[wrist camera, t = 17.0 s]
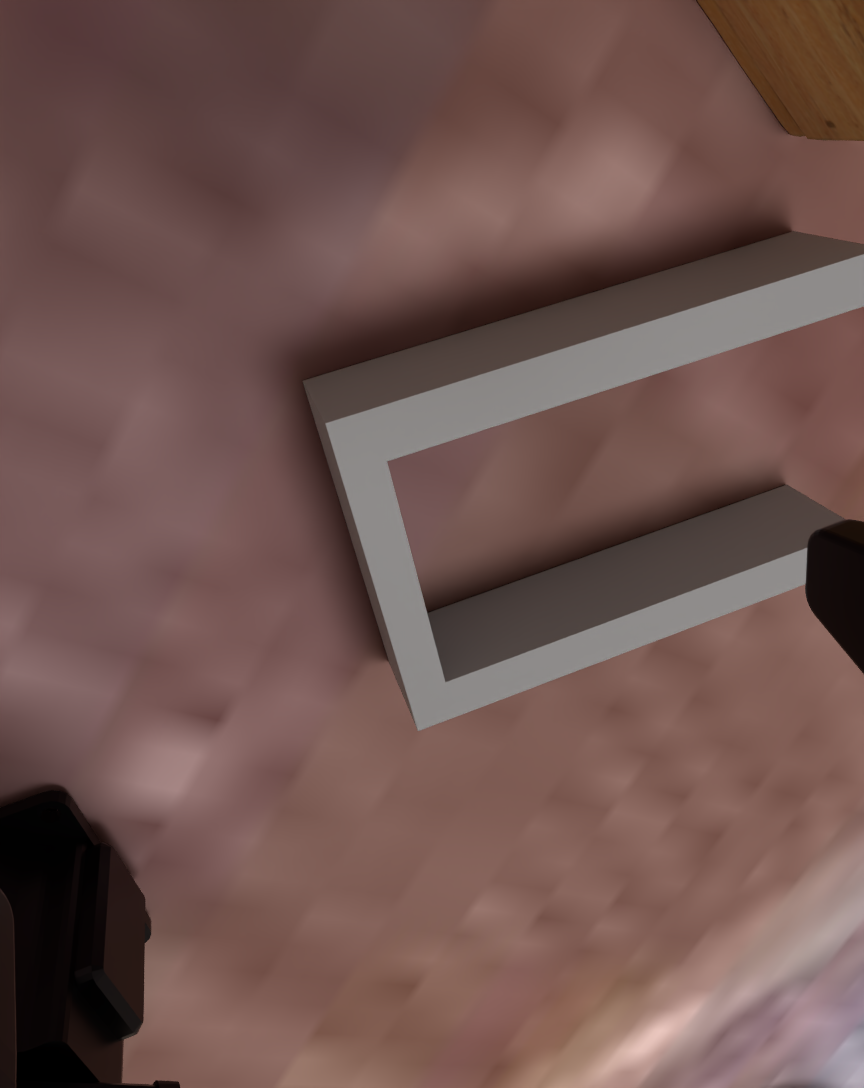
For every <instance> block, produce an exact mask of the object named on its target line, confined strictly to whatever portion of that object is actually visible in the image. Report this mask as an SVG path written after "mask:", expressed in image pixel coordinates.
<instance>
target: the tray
mask: <svg viewBox="0 0 864 1088" xmlns="http://www.w3.org/2000/svg"><path fill="white" fill-rule="evenodd" d="M697 1H698V3H699V4H700V6H701V7H702V9H703V10H704V11H705V13H706V14H707V16H708V17H709V18H710V20H711V21H712V23H713V24H714V26H715V27H716V29H717V30H718V32H719V33H720V35H721V36H722V38H723V39H724V41H725V42H726V44H727V45H728V47H729V49H730V50H731V52H732V53H733V55H734V56H735V58H736V59H737V61H738V62H739V64H740V65H741V67H742V68H743V70H744V71H745V72H746V74H747V75H748V77H749V78H750V80H751V81H752V83H753V84H754V85H755V87H756V88H757V90H758V91H759V93H760V94H761V95H762V97H763V98H764V100H765V101H766V103H767V104H768V106H769V107H770V108H771V110H772V111H773V113H774V114H775V116H776V117H777V118H778V120H779V121H780V123H781V124H782V126H783V127H784V128H785V129H786V130H787V131H788V132H789V134H790V135H793V136H799V137H801V136H806V137H807V139H816V140H854V141H864V0H697Z"/></svg>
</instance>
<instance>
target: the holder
mask: <svg viewBox="0 0 864 1088" xmlns="http://www.w3.org/2000/svg"><path fill="white" fill-rule="evenodd" d="M863 306H864V244H859V243H854V242H849V241H843V240H838V239H833V238H827V237H822V236H817V235H811V234H806V233H801V232H795V231H792V232H789V233H786V234H783V235H779V236H776V237H773V238H769V239H766V240H763V241H760V242H756V243H753V244H750V245H746V246H743V247H740V248H737V249H733V250H730V251H727V252H724V253H720V254H717V255H714V256H710V257H707V258H704V259H701V260H697V261H694V262H691V263H687V264H684V265H681V266H678V267H674V268H671V269H668V270H664V271H661V272H658V273H655V274H651V275H648V276H645V277H641V278H638V279H635V280H632V281H628V282H625V283H622V284H619V285H615V286H612V287H609V288H605V289H602V290H599V291H596V292H592V293H589V294H586V295H582V296H579V297H576V298H573V299H569V300H566V301H563V302H559V303H556V304H553V305H550V306H546V307H543V308H540V309H536V310H533V311H530V312H527V313H523V314H520V315H517V316H514V317H510V318H507V319H504V320H500V321H497V322H494V323H491V324H487V325H484V326H481V327H477V328H474V329H471V330H468V331H464V332H461V333H458V334H454V335H451V336H448V337H445V338H441V339H438V340H435V341H431V342H428V343H425V344H422V345H418V346H415V347H412V348H409V349H405V350H402V351H399V352H395V353H392V354H389V355H386V356H382V357H379V358H376V359H372V360H369V361H366V362H363V363H359V364H356V365H353V366H349V367H346V368H343V369H340V370H336V371H333V372H330V373H326V374H323V375H320V376H317V377H313V378H310V379H307V380H303V384H304V388H305V391H306V394H307V397H308V401H309V404H310V407H311V410H312V414H313V417H314V420H315V423H316V427H317V430H318V433H319V436H320V440H321V443H322V446H323V449H324V453H325V456H326V459H327V462H328V466H329V469H330V472H331V475H332V479H333V482H334V485H335V488H336V492H337V495H338V498H339V501H340V504H341V508H342V511H343V514H344V517H345V521H346V524H347V527H348V530H349V534H350V537H351V540H352V543H353V547H354V550H355V553H356V556H357V560H358V563H359V566H360V569H361V573H362V576H363V579H364V582H365V586H366V589H367V592H368V595H369V599H370V602H371V605H372V608H373V612H374V615H375V618H376V621H377V625H378V628H379V631H380V634H381V637H382V641H383V644H384V647H385V650H386V654H387V657H388V660H389V663H390V666H391V668H392V670H393V673H394V675H395V678H396V680H397V682H398V685H399V687H400V689H401V692H402V694H403V697H404V699H405V701H406V704H407V706H408V708H409V711H410V713H411V716H412V718H413V720H414V723H415V725H416V727H417V730H418V731H420V730H422V729H425V728H428V727H430V726H433V725H435V724H438V723H441V722H443V721H446V720H449V719H451V718H454V717H457V716H459V715H462V714H464V713H467V712H470V711H472V710H475V709H478V708H480V707H483V706H486V705H488V704H491V703H493V702H496V701H499V700H501V699H504V698H507V697H509V696H512V695H514V694H517V693H520V692H522V691H525V690H528V689H530V688H533V687H536V686H538V685H541V684H543V683H546V682H549V681H551V680H554V679H557V678H559V677H562V676H565V675H567V674H570V673H572V672H575V671H578V670H580V669H583V668H586V667H588V666H591V665H594V664H596V663H599V662H601V661H604V660H607V659H609V658H612V657H615V656H617V655H620V654H623V653H625V652H628V651H630V650H633V649H636V648H638V647H641V646H644V645H646V644H649V643H651V642H654V641H657V640H659V639H662V638H665V637H667V636H670V635H673V634H675V633H678V632H680V631H683V630H686V629H688V628H691V627H694V626H696V625H699V624H702V623H704V622H707V621H709V620H712V619H715V618H717V617H720V616H723V615H725V614H728V613H731V612H733V611H736V610H738V609H741V608H744V607H746V606H749V605H752V604H754V603H757V602H760V601H762V600H765V599H767V598H770V597H773V596H775V595H778V594H781V593H783V592H786V591H788V590H791V589H794V588H796V587H799V586H802V585H804V584H806V564H807V544H808V539H809V537H810V535H811V534H812V533H813V532H814V531H815V530H817V529H819V528H822V527H825V526H828V525H830V524H833V523H836V522H838V521H842V520H846V519H844V518H842V517H841V516H839V515H837V514H836V513H834V512H832V511H831V510H829V509H827V508H825V507H824V506H822V505H820V504H819V503H817V502H815V501H814V500H812V499H810V498H809V497H807V496H805V495H804V494H802V493H800V492H798V491H797V490H795V489H793V488H792V487H790V486H788V485H784V486H782V487H779V488H776V489H773V490H770V491H768V492H765V493H762V494H759V495H756V496H754V497H751V498H748V499H745V500H742V501H740V502H737V503H734V504H731V505H728V506H726V507H723V508H720V509H717V510H714V511H712V512H709V513H706V514H703V515H700V516H698V517H695V518H692V519H689V520H686V521H684V522H681V523H678V524H675V525H672V526H670V527H667V528H664V529H661V530H658V531H656V532H653V533H650V534H647V535H644V536H642V537H639V538H636V539H633V540H630V541H628V542H625V543H622V544H619V545H616V546H614V547H611V548H608V549H605V550H602V551H600V552H597V553H594V554H591V555H588V556H586V557H583V558H580V559H577V560H574V561H572V562H569V563H566V564H563V565H560V566H558V567H555V568H552V569H549V570H546V571H544V572H541V573H538V574H535V575H532V576H530V577H527V578H524V579H521V580H518V581H516V582H513V583H510V584H507V585H504V586H502V587H499V588H496V589H493V590H490V591H488V592H485V593H482V594H479V595H476V596H474V597H471V598H468V599H465V600H462V601H460V602H457V603H454V604H451V605H448V606H446V607H443V608H440V609H437V610H434V611H432V612H429V613H427V611H426V607H425V603H424V599H423V596H422V592H421V588H420V584H419V580H418V577H417V573H416V569H415V565H414V562H413V558H412V554H411V550H410V546H409V543H408V539H407V535H406V531H405V528H404V524H403V520H402V516H401V512H400V509H399V505H398V501H397V497H396V494H395V490H394V486H393V482H392V478H391V475H390V471H389V467H388V463H387V461H390V460H393V459H396V458H399V457H402V456H405V455H408V454H411V453H414V452H417V451H420V450H424V449H427V448H430V447H433V446H436V445H439V444H442V443H445V442H448V441H451V440H454V439H457V438H460V437H464V436H467V435H470V434H473V433H476V432H479V431H482V430H485V429H488V428H491V427H494V426H497V425H500V424H503V423H507V422H510V421H513V420H516V419H519V418H522V417H525V416H528V415H531V414H534V413H537V412H540V411H543V410H547V409H550V408H553V407H556V406H559V405H562V404H565V403H568V402H571V401H574V400H577V399H580V398H583V397H586V396H590V395H593V394H596V393H599V392H602V391H605V390H608V389H611V388H614V387H617V386H620V385H623V384H626V383H630V382H633V381H636V380H639V379H642V378H645V377H648V376H651V375H654V374H657V373H660V372H663V371H666V370H670V369H673V368H676V367H679V366H682V365H685V364H688V363H691V362H694V361H697V360H700V359H703V358H706V357H709V356H713V355H716V354H719V353H722V352H725V351H728V350H731V349H734V348H737V347H740V346H743V345H746V344H749V343H753V342H756V341H759V340H762V339H765V338H768V337H771V336H774V335H777V334H780V333H783V332H786V331H789V330H792V329H796V328H799V327H802V326H805V325H808V324H811V323H814V322H817V321H820V320H823V319H826V318H829V317H832V316H836V315H839V314H842V313H845V312H848V311H851V310H854V309H857V308H860V307H863Z"/></svg>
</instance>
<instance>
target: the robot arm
mask: <svg viewBox="0 0 864 1088" xmlns="http://www.w3.org/2000/svg"><path fill="white" fill-rule="evenodd" d="M805 592H806V598H807V601H808V604H809V606H810V608H811V610H812V612H813V613H814V614H815V616H816V617H817V618H818V619H819V621H820V622H821V623H822V624H823V625H824V627H825V628H826V629H827V630H828V632H829V633H830V634H831V635H832V636H833V638H834V639H835V640H836V641H837V642H838V644H839V645H840V646H841V647H842V648H843V650H844V651H845V652H846V653H847V654H848V656H849V657H850V658H851V659H852V660H853V662H854V663H855V664H856V665H857V666H858V668H859V669H860V670H861V671H862V673H863V674H864V522H862V521H857V520H842V521H838V522H836V523H833V524H830V525H828V526H825V527H822V528H819V529H817V530H815V531H814V532H813V533H812V534H811V535H810V537H809V539H808V544H807V564H806V586H805ZM50 808H54V809H58V811H54V812H50V811H46V809H50ZM150 936H151V920H150V917H149V916H148V914H147V913H146V911H145V897H144V895H143V893H142V892H141V890H140V889H139V887H138V886H137V884H136V883H135V881H134V880H133V878H132V876H131V875H130V873H129V872H128V870H127V869H126V867H125V866H124V864H123V862H122V861H121V859H120V858H119V856H118V855H117V853H116V852H115V850H114V849H113V847H112V846H110V845H108V844H106V843H104V842H102V843H100V841H99V839H98V838H97V836H96V835H95V833H94V832H93V830H92V829H91V827H90V826H89V824H88V823H87V821H86V820H85V818H84V817H83V815H82V813H81V812H80V810H79V809H78V807H77V806H76V804H75V803H74V801H73V800H72V798H71V797H70V796H69V795H68V794H67V793H64V792H62V791H54V790H51V791H47V792H43V793H40V794H37V795H35V796H32V797H29V798H26V799H24V800H21V801H18V802H15V803H13V804H10V805H7V806H4V807H2V808H0V1088H180V1084H179V1082H177V1081H157V1080H156V1081H155V1082H154V1083H153V1085H149V1084H127V1083H122V1071H123V1043H124V1039H126V1038H129V1037H131V1036H133V1035H136V1034H137V1033H138V1031H139V1029H140V1027H141V1025H142V1023H143V1014H144V949H145V943H146V942H147V941H148V940H149V938H150Z"/></svg>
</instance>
